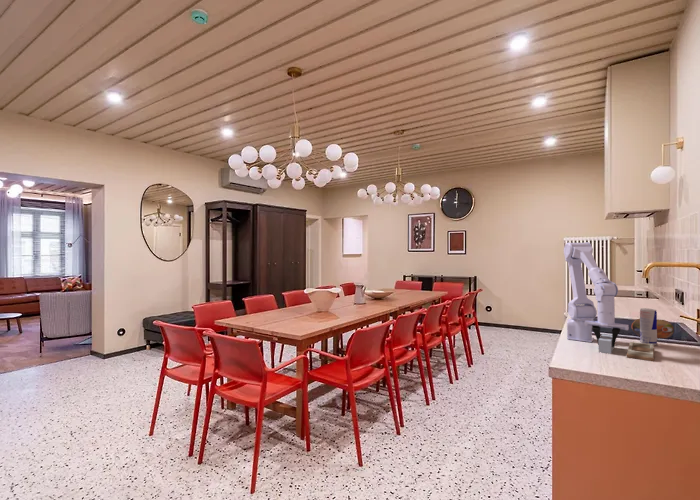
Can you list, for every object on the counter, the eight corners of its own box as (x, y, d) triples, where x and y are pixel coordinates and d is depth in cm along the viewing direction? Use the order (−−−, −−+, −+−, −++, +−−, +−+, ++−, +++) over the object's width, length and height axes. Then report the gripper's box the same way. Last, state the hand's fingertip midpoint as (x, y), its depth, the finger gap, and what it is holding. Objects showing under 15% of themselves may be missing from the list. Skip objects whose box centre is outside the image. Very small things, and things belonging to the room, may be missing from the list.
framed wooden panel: (626, 357, 138) (626, 350, 138) (629, 347, 151) (629, 341, 151) (654, 361, 132) (654, 354, 132) (654, 350, 146) (654, 344, 146)
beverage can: (657, 346, 152) (657, 310, 152) (640, 344, 155) (640, 309, 155) (656, 343, 156) (656, 308, 156) (639, 341, 160) (639, 307, 160)
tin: (632, 336, 170) (632, 318, 169) (630, 334, 172) (630, 317, 172) (674, 339, 162) (674, 320, 162) (672, 338, 165) (671, 319, 165)
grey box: (598, 352, 145) (598, 339, 145) (602, 345, 154) (602, 334, 154) (610, 354, 142) (610, 341, 142) (613, 347, 151) (613, 335, 151)
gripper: (583, 311, 150) (583, 344, 150) (627, 315, 140) (628, 350, 140) (586, 309, 155) (586, 341, 155) (628, 312, 146) (629, 346, 146)
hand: (606, 345), depth 148 cm, fingers closed on grey box, 4 cm apart
